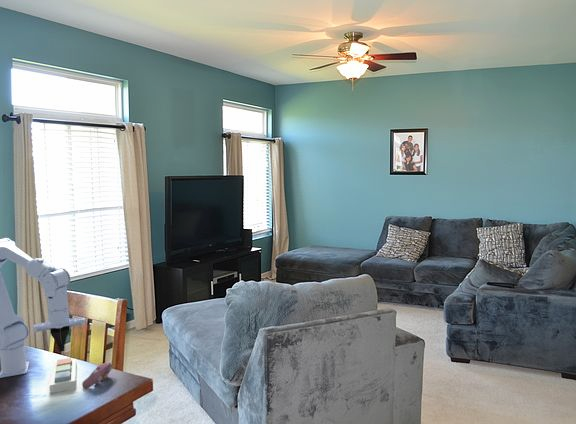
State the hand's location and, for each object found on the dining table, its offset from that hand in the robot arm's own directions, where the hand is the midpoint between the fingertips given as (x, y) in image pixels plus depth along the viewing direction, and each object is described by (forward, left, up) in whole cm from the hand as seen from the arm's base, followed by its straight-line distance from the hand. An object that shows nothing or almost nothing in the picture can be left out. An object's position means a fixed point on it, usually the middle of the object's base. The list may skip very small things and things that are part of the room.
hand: (61, 350), depth 156 cm
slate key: (+5, 0, -8) cm, 9 cm away
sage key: (0, 0, -8) cm, 8 cm away
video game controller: (+7, +10, -10) cm, 16 cm away
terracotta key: (-5, 0, -8) cm, 9 cm away
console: (0, 0, -9) cm, 9 cm away
